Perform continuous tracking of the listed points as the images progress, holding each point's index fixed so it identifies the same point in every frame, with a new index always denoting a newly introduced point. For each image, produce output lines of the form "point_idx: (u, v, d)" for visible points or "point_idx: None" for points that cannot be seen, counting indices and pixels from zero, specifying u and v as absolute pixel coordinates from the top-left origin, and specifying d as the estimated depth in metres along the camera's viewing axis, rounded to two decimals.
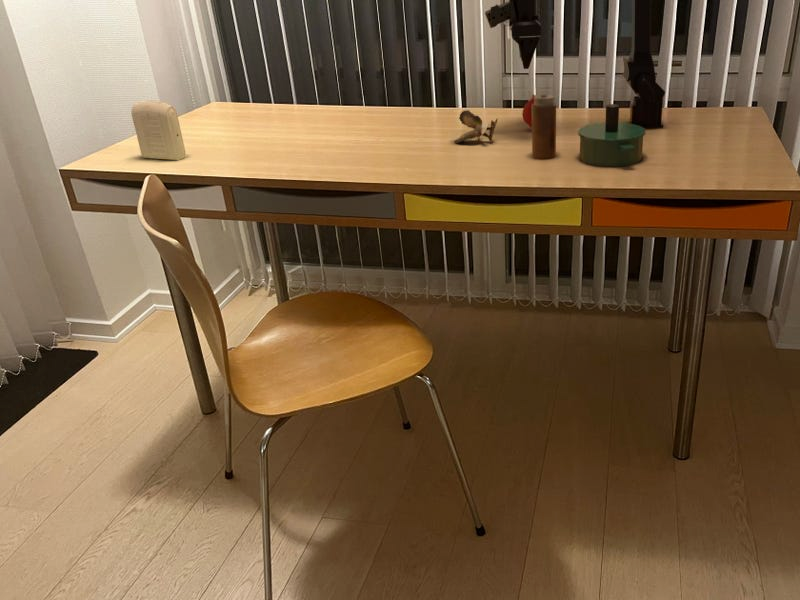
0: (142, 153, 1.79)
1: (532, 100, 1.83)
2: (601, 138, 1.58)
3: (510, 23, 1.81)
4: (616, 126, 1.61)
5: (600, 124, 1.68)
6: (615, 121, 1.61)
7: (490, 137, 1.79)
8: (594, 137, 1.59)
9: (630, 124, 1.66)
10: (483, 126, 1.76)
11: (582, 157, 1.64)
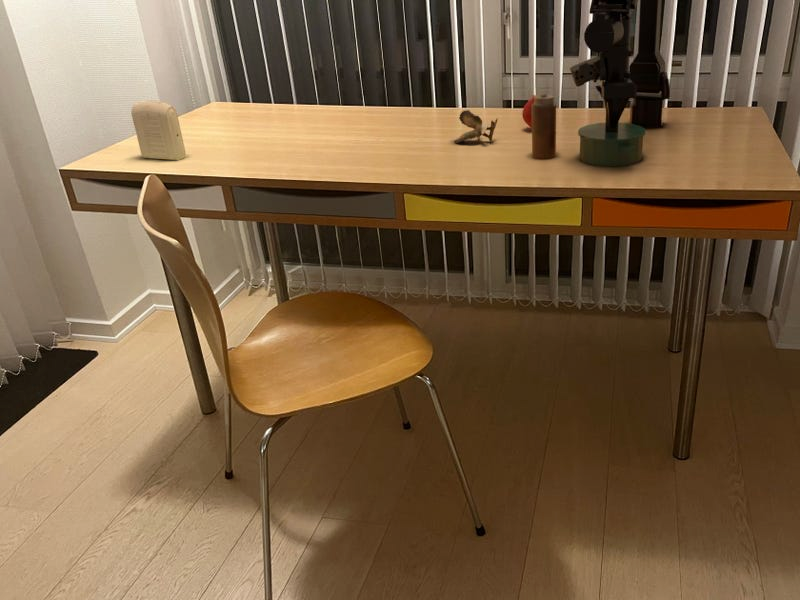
0: (142, 153, 1.79)
1: (532, 100, 1.83)
2: (601, 138, 1.58)
3: (595, 79, 1.63)
4: (616, 126, 1.61)
5: (600, 124, 1.68)
6: None
7: (490, 137, 1.79)
8: (594, 137, 1.59)
9: (630, 124, 1.66)
10: (483, 126, 1.76)
11: (582, 157, 1.64)
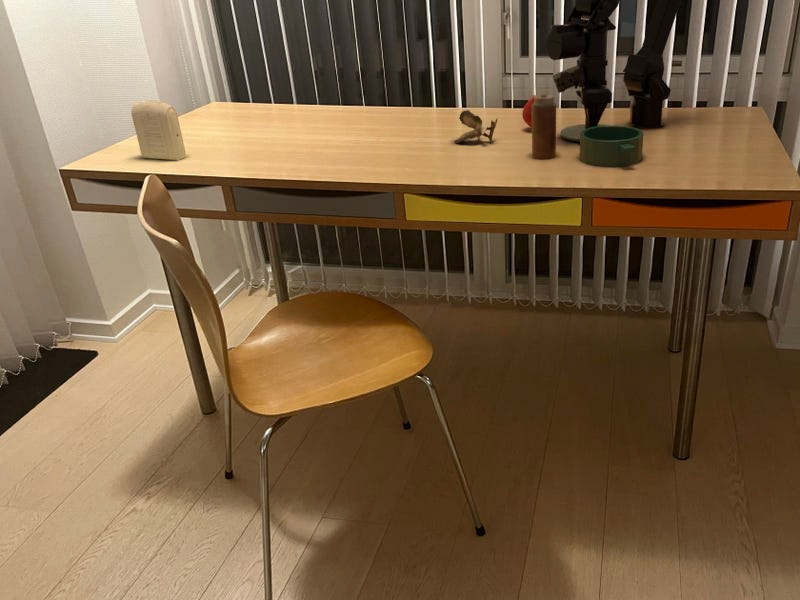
0: (142, 153, 1.79)
1: (532, 100, 1.83)
2: None
3: (576, 85, 1.80)
4: None
5: (581, 125, 1.84)
6: None
7: (490, 137, 1.79)
8: (574, 137, 1.76)
9: None
10: (483, 126, 1.76)
11: (582, 157, 1.64)
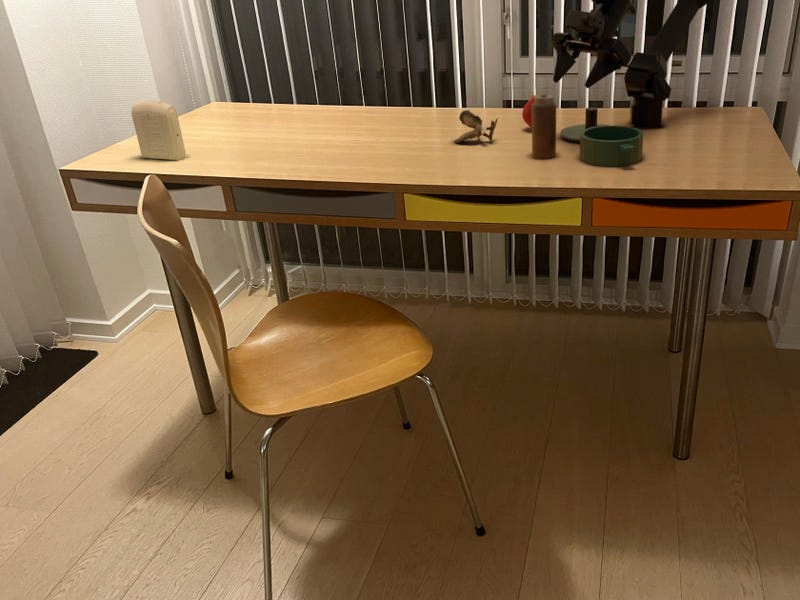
0: (142, 153, 1.79)
1: (532, 100, 1.83)
2: None
3: (563, 39, 1.68)
4: None
5: (581, 125, 1.84)
6: (594, 123, 1.78)
7: (490, 137, 1.79)
8: (574, 137, 1.76)
9: None
10: (483, 126, 1.76)
11: (582, 157, 1.64)
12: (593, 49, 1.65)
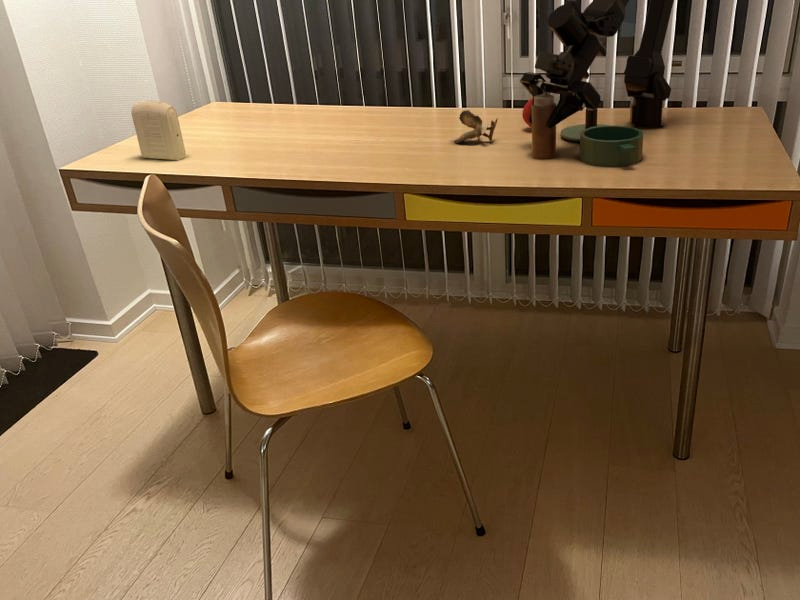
0: (142, 153, 1.79)
1: (532, 100, 1.83)
2: None
3: (533, 79, 1.67)
4: None
5: (581, 125, 1.84)
6: (594, 123, 1.78)
7: (490, 137, 1.79)
8: (574, 137, 1.76)
9: None
10: (483, 126, 1.76)
11: (582, 157, 1.64)
12: None
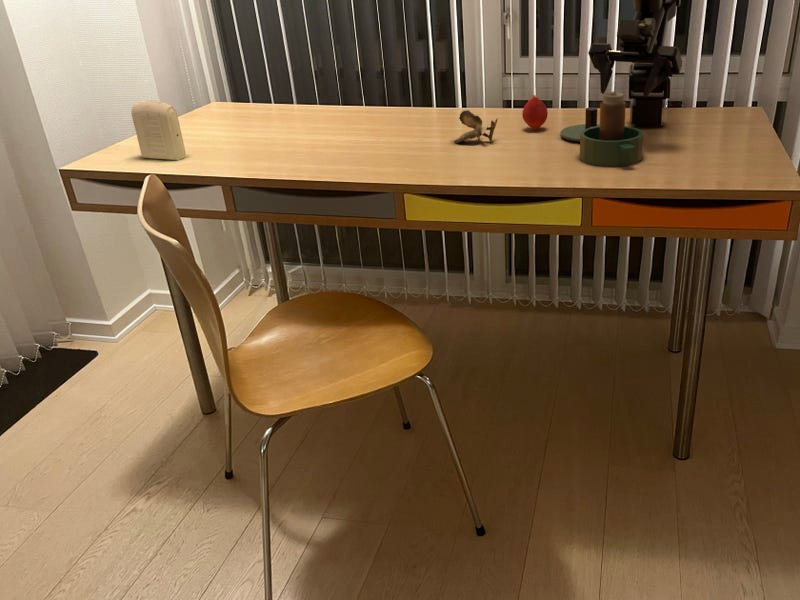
0: (142, 153, 1.79)
1: (532, 100, 1.83)
2: None
3: (605, 49, 1.65)
4: None
5: (581, 125, 1.84)
6: (594, 123, 1.78)
7: (490, 137, 1.79)
8: (574, 137, 1.76)
9: None
10: (483, 126, 1.76)
11: (582, 157, 1.64)
12: (640, 58, 1.64)
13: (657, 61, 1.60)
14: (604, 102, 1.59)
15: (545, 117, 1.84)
